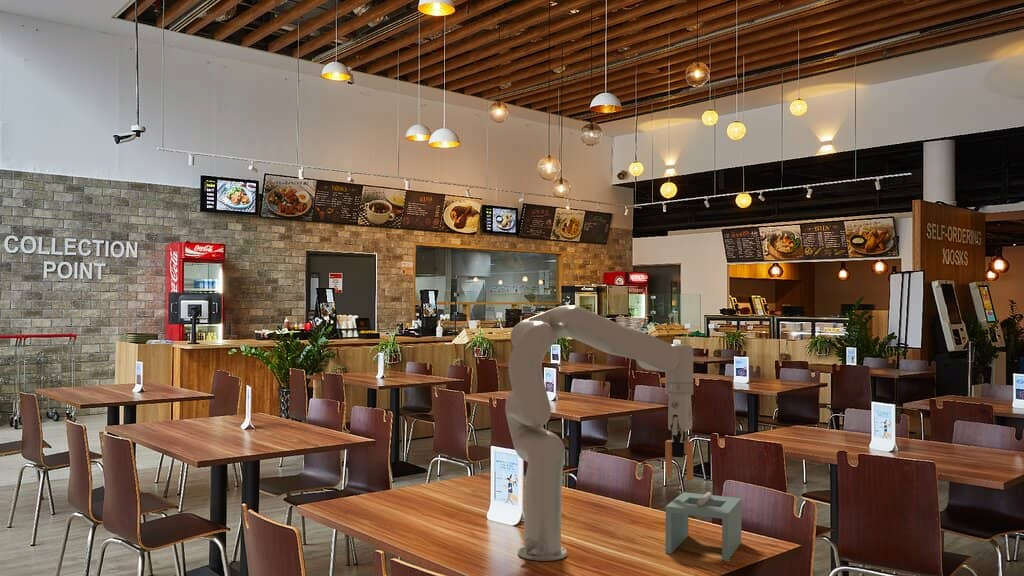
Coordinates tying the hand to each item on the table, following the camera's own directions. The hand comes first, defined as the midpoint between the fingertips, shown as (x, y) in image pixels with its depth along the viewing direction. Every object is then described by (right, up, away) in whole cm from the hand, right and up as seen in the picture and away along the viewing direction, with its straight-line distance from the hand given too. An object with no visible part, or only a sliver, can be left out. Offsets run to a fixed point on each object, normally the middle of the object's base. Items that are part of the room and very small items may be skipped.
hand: (679, 455), depth 219 cm
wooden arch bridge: (0, -6, 0) cm, 6 cm away
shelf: (+5, -23, -6) cm, 25 cm away
